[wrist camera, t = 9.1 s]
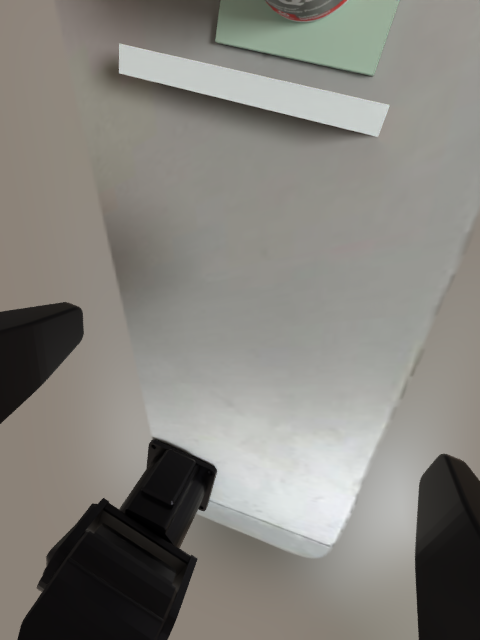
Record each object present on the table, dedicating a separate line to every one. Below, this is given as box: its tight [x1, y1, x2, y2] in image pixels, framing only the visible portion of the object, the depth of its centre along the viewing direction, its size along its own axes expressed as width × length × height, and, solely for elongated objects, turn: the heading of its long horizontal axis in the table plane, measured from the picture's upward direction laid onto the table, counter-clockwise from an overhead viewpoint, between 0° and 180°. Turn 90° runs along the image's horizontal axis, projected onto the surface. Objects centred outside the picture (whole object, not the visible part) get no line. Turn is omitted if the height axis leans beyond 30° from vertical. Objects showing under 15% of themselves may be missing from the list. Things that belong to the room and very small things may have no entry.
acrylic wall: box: [119, 44, 390, 137], centre depth 14 cm, size 1×11×3 cm, turn 79°
